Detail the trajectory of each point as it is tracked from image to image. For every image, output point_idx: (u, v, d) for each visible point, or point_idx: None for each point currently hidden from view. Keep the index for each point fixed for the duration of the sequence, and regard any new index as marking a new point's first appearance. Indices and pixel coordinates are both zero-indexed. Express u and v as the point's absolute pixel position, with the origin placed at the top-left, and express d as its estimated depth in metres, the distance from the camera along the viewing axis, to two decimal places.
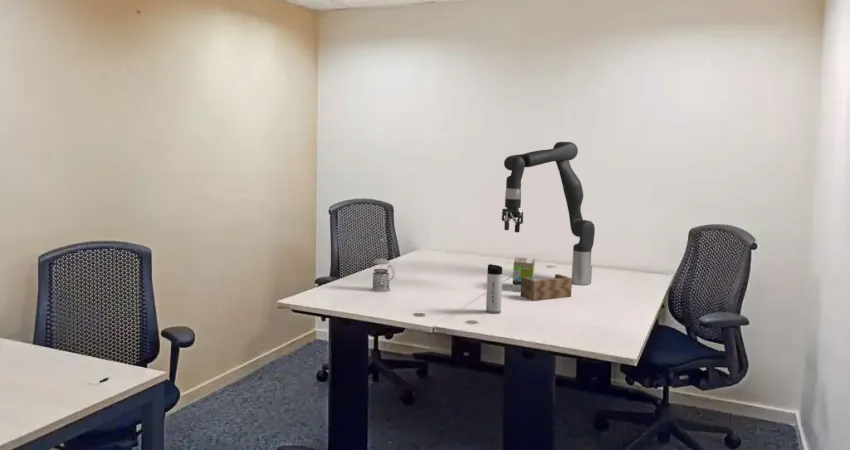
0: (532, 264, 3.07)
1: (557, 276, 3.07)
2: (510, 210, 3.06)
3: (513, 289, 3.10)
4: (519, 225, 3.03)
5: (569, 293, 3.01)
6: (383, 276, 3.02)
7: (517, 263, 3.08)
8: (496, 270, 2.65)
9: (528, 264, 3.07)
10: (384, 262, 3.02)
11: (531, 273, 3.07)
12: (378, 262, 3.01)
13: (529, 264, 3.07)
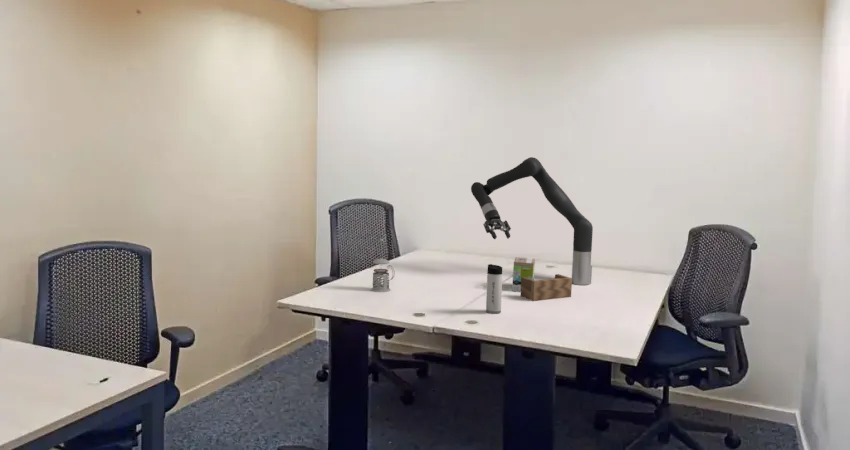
0: (532, 264, 3.07)
1: (557, 276, 3.07)
2: None
3: (513, 289, 3.10)
4: (491, 232, 3.29)
5: (569, 293, 3.01)
6: (383, 276, 3.02)
7: (517, 263, 3.08)
8: (496, 270, 2.65)
9: (528, 264, 3.07)
10: (384, 262, 3.02)
11: (531, 273, 3.07)
12: (378, 262, 3.01)
13: (529, 264, 3.07)
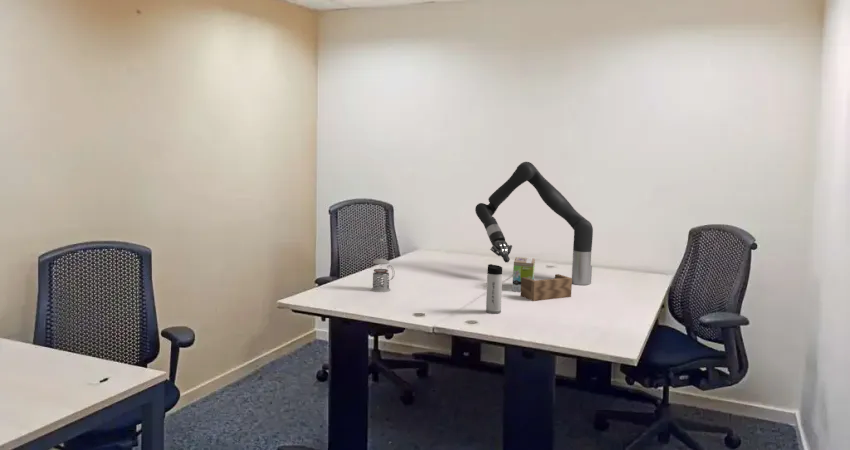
0: (532, 264, 3.07)
1: (557, 276, 3.07)
2: None
3: (513, 289, 3.10)
4: (503, 255, 3.28)
5: (569, 293, 3.01)
6: (383, 276, 3.02)
7: (517, 263, 3.08)
8: (496, 270, 2.65)
9: (528, 264, 3.07)
10: (384, 262, 3.02)
11: (531, 273, 3.07)
12: (378, 262, 3.01)
13: (529, 264, 3.07)
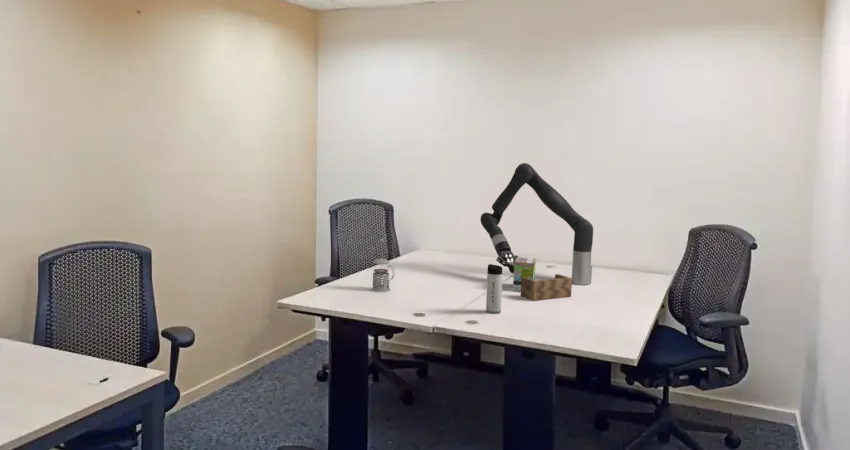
0: (533, 264, 3.07)
1: (557, 276, 3.07)
2: None
3: (514, 289, 3.10)
4: (509, 266, 3.24)
5: (569, 293, 3.01)
6: (383, 276, 3.02)
7: (518, 263, 3.08)
8: (496, 270, 2.65)
9: (529, 264, 3.07)
10: (384, 262, 3.02)
11: (532, 273, 3.07)
12: (378, 262, 3.01)
13: (530, 264, 3.07)
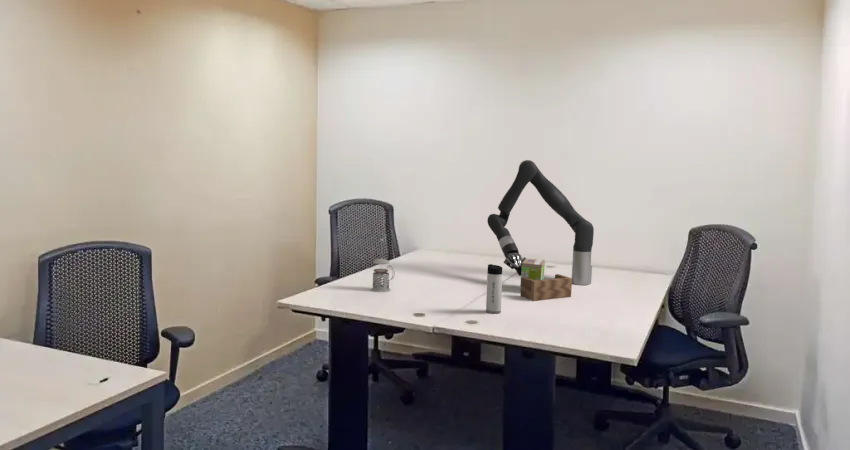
0: (540, 265, 3.03)
1: (557, 276, 3.07)
2: None
3: None
4: (516, 268, 3.18)
5: (569, 293, 3.01)
6: (383, 276, 3.02)
7: (525, 264, 3.05)
8: (496, 270, 2.65)
9: (536, 265, 3.04)
10: (384, 262, 3.02)
11: (539, 275, 3.04)
12: (378, 262, 3.01)
13: (537, 265, 3.03)
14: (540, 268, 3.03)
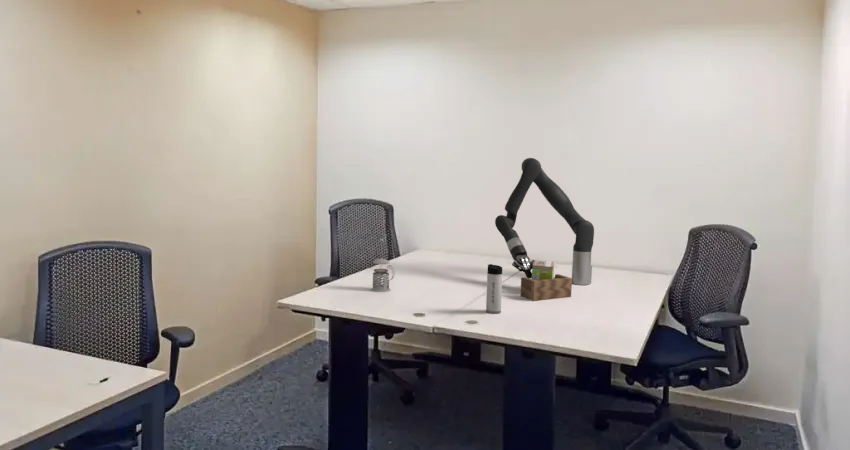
0: (551, 268, 2.99)
1: (557, 276, 3.07)
2: None
3: None
4: (525, 271, 3.11)
5: (569, 293, 3.01)
6: (383, 276, 3.02)
7: (536, 266, 3.00)
8: (496, 270, 2.65)
9: (547, 268, 2.99)
10: (384, 262, 3.02)
11: (550, 277, 2.99)
12: (378, 262, 3.01)
13: (548, 268, 2.99)
14: (551, 270, 2.99)
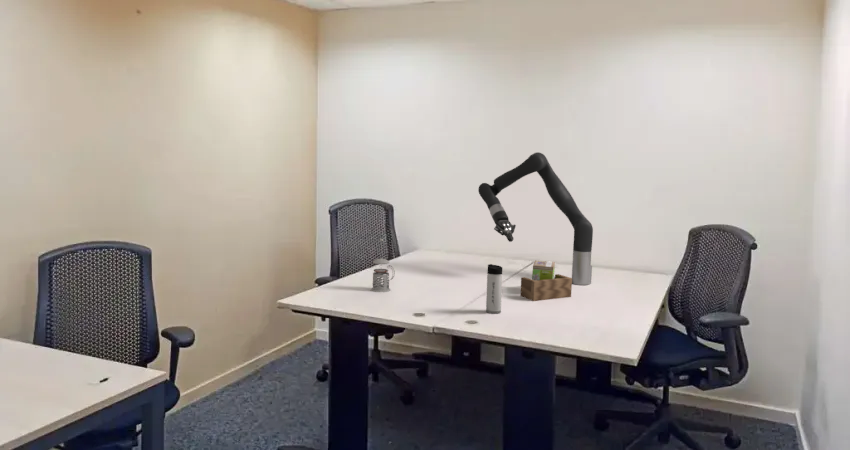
0: (552, 268, 2.98)
1: (557, 276, 3.07)
2: None
3: None
4: (507, 234, 3.27)
5: (569, 293, 3.01)
6: (383, 276, 3.02)
7: (536, 267, 3.00)
8: (496, 270, 2.65)
9: (548, 268, 2.99)
10: (384, 262, 3.02)
11: (551, 277, 2.99)
12: (378, 262, 3.01)
13: (549, 268, 2.99)
14: (552, 270, 2.99)
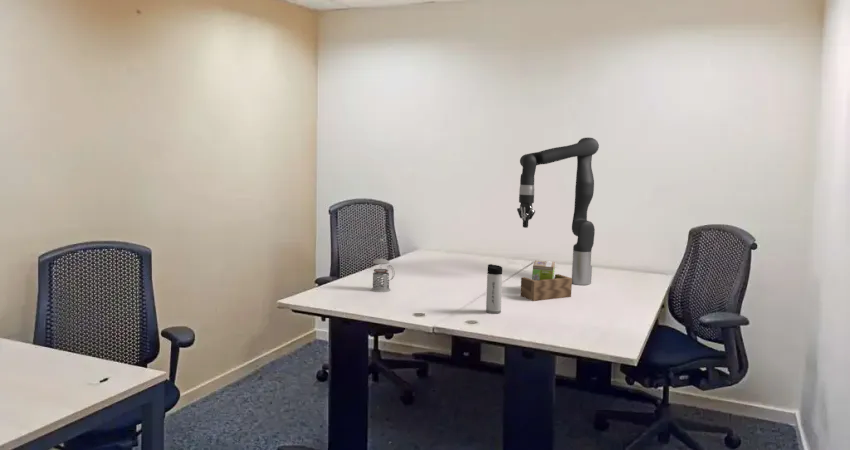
0: (552, 268, 2.98)
1: (557, 276, 3.07)
2: (524, 205, 3.25)
3: None
4: None
5: (569, 293, 3.01)
6: (383, 276, 3.02)
7: (536, 267, 3.00)
8: (496, 270, 2.65)
9: (548, 268, 2.99)
10: (384, 262, 3.02)
11: (551, 277, 2.99)
12: (378, 262, 3.01)
13: (549, 268, 2.99)
14: (552, 270, 2.99)
